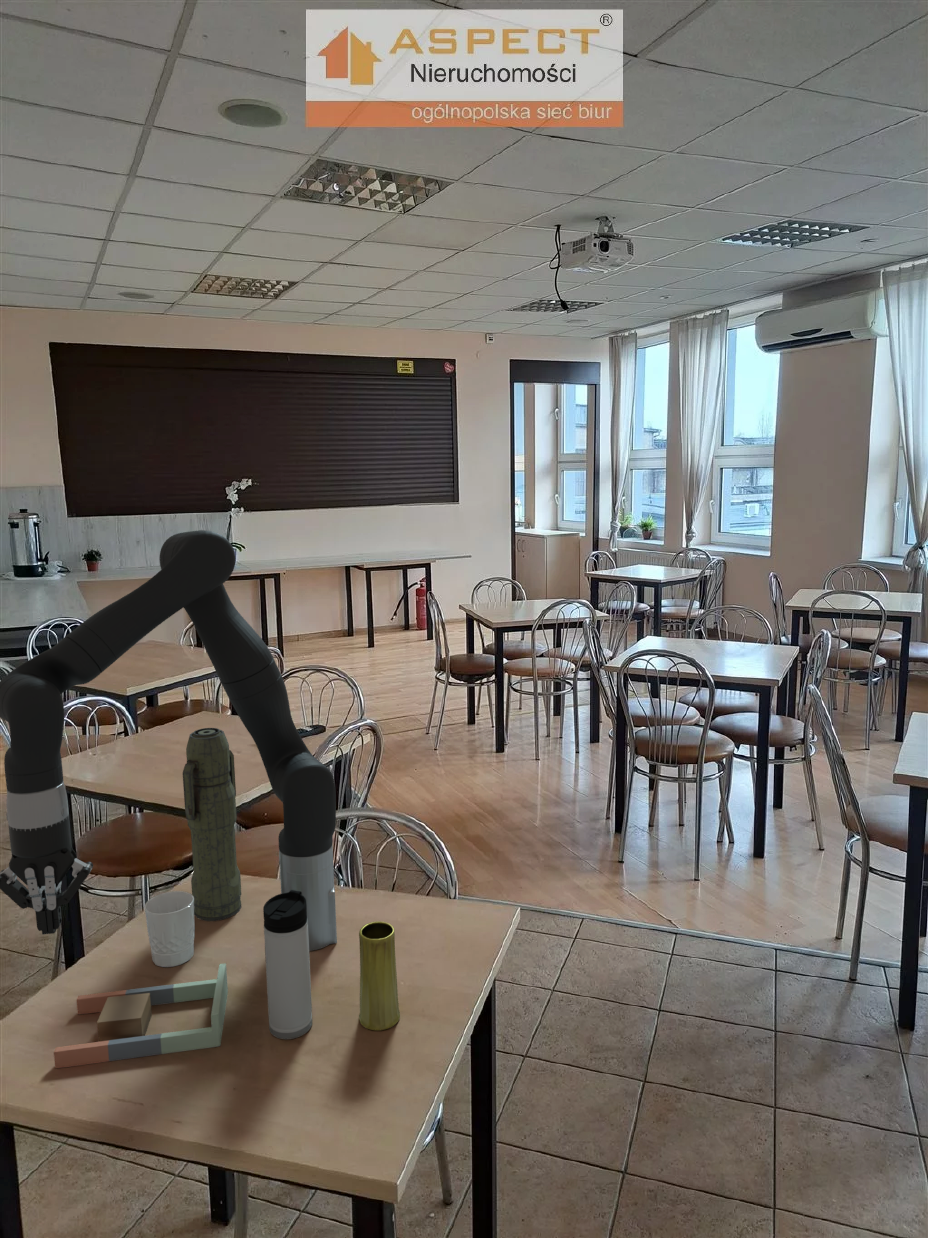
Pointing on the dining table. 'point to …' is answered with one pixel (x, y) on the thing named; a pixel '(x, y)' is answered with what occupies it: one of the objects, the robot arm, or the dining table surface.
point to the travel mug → (287, 965)
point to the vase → (378, 977)
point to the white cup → (171, 927)
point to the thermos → (212, 824)
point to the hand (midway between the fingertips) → (50, 931)
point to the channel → (155, 1042)
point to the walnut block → (124, 1017)
